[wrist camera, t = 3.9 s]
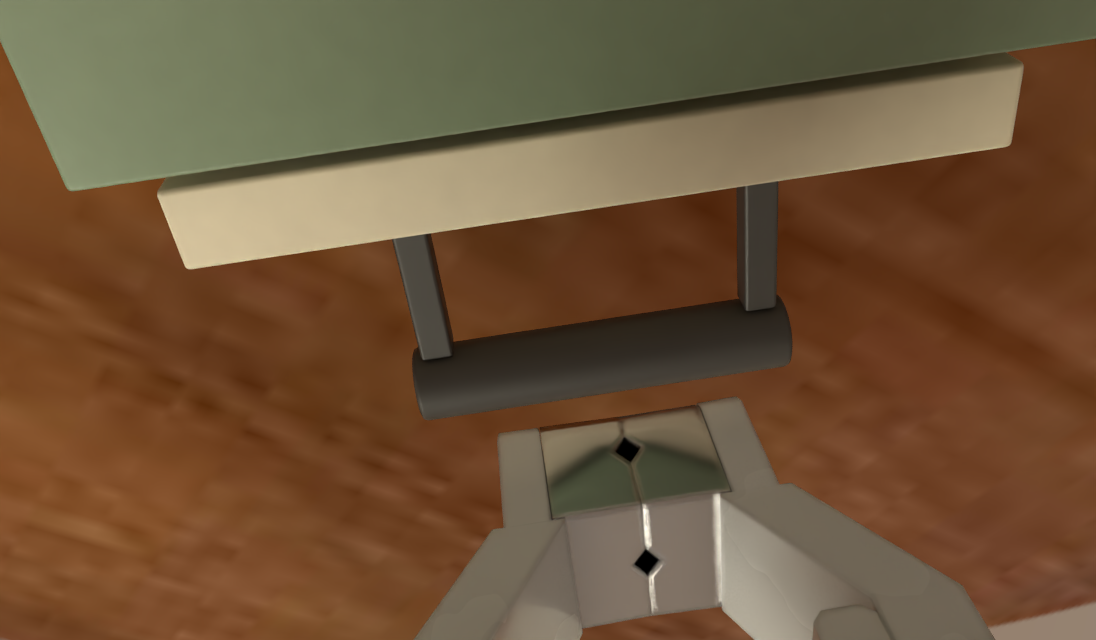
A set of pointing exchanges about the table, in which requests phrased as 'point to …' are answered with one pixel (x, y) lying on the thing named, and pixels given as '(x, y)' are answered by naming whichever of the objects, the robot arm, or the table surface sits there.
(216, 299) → the table surface
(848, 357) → the table surface
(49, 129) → the cabinet
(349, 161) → the drawer
